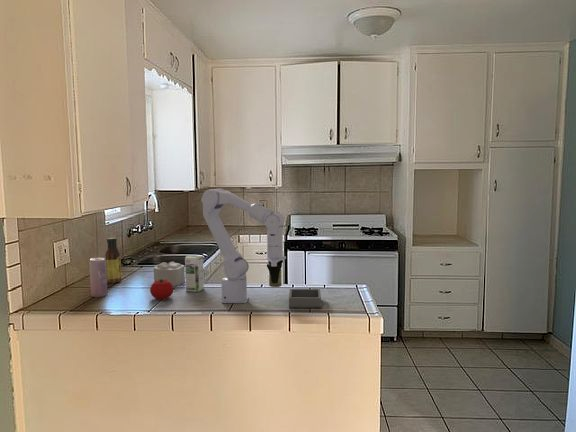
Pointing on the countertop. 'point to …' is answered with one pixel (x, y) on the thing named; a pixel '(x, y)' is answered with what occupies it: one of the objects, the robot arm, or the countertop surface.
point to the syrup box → (194, 273)
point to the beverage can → (98, 277)
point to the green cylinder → (275, 283)
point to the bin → (304, 299)
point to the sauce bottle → (113, 262)
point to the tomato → (161, 289)
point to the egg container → (170, 273)
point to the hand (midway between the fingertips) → (275, 281)
